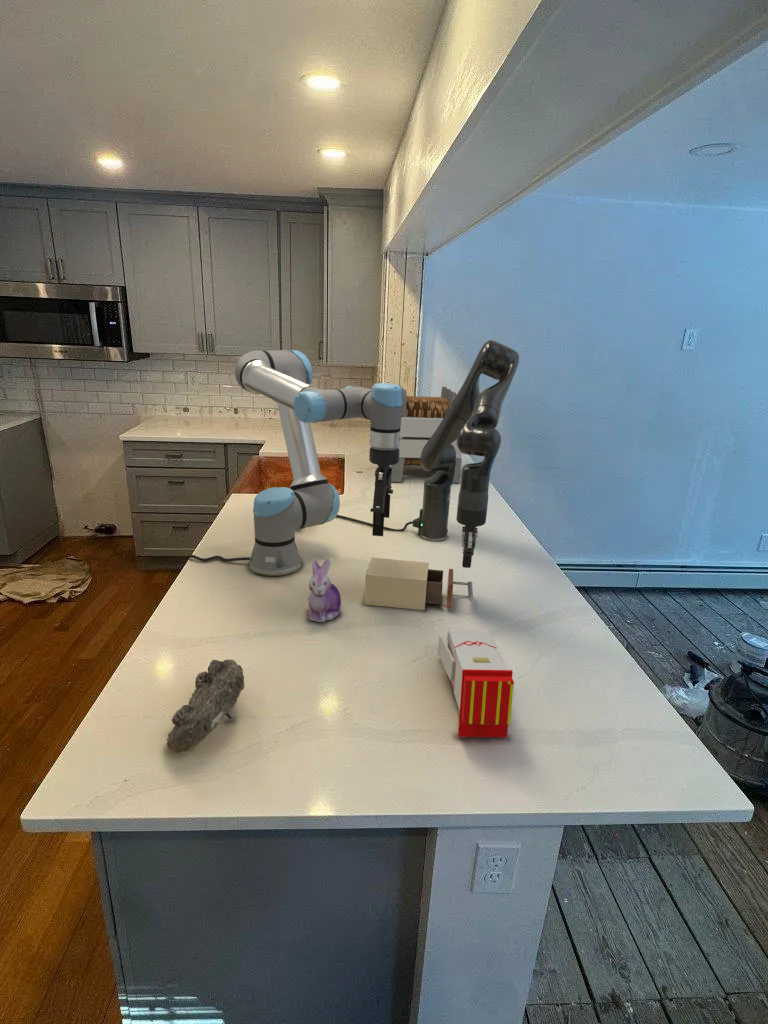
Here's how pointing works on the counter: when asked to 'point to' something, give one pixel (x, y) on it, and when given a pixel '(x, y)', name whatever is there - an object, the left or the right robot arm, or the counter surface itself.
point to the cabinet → (396, 583)
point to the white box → (421, 429)
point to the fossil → (206, 705)
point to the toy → (478, 682)
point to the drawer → (436, 586)
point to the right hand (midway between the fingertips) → (466, 566)
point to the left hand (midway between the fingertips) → (381, 526)
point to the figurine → (323, 594)
